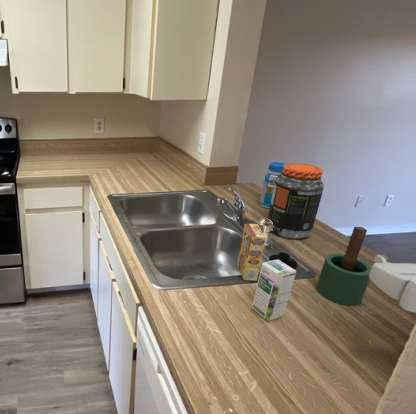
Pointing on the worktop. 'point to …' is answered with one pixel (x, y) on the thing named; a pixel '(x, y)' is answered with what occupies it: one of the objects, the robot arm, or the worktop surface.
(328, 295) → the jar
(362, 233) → the brush
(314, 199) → the supplement tub
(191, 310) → the worktop surface
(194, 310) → the worktop surface
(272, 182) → the beverage bottle
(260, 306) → the syrup box
